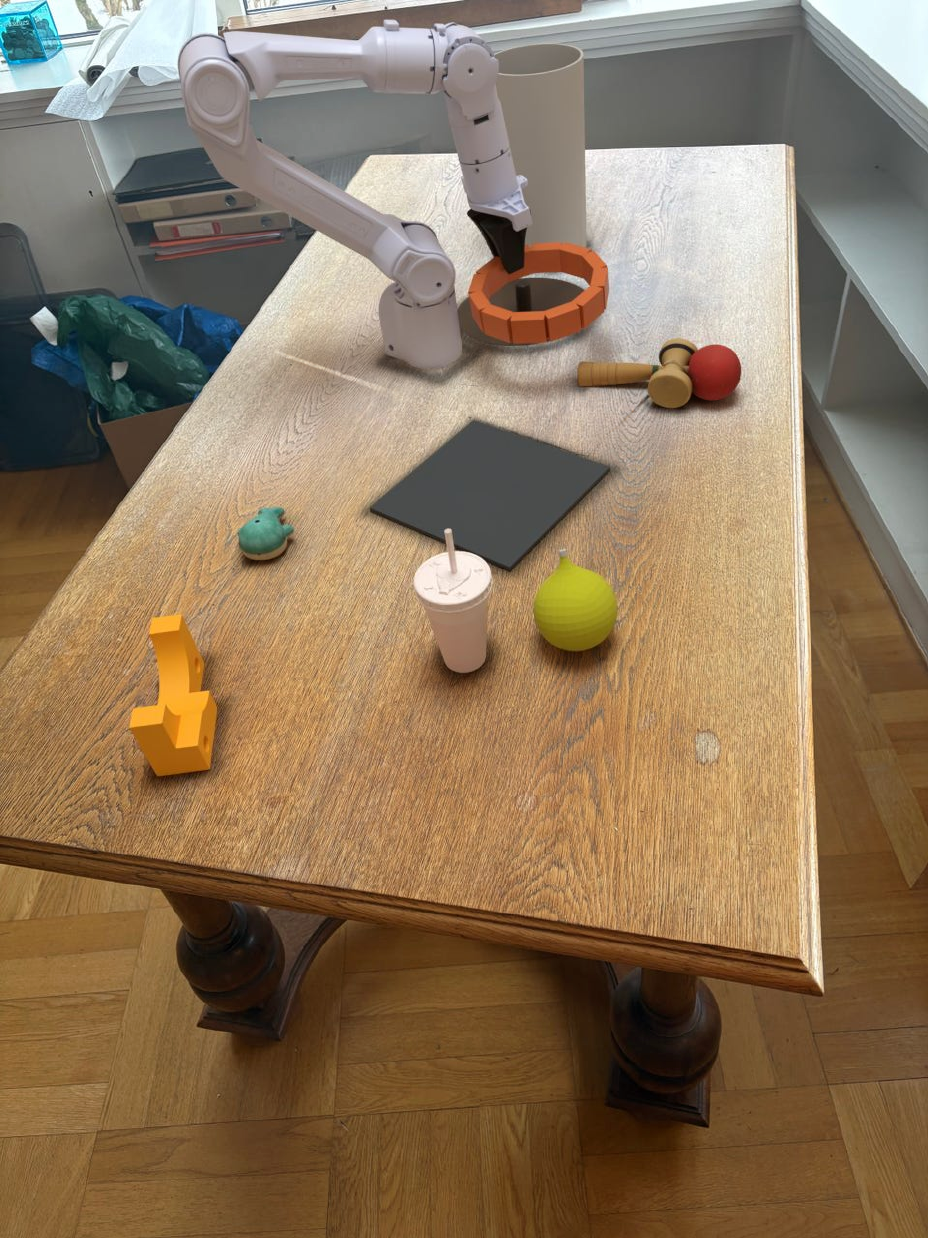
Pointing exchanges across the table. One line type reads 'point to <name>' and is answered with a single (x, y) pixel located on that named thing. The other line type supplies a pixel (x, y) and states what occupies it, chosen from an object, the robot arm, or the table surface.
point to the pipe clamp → (176, 704)
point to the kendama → (673, 373)
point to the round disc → (520, 303)
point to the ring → (550, 321)
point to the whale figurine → (264, 535)
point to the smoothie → (456, 604)
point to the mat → (491, 492)
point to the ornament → (574, 607)
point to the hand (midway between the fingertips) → (511, 266)
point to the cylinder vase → (547, 136)
